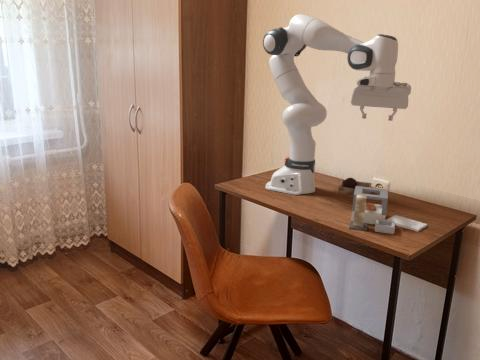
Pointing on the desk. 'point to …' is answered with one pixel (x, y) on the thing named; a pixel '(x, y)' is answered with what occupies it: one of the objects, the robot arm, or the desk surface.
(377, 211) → the grey open box frame
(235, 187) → the desk surface
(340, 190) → the watch tray
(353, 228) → the pad
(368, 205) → the button
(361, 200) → the tan rectangular block
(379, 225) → the grey square tray
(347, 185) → the dark brown rounded lump
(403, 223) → the external hard drive
